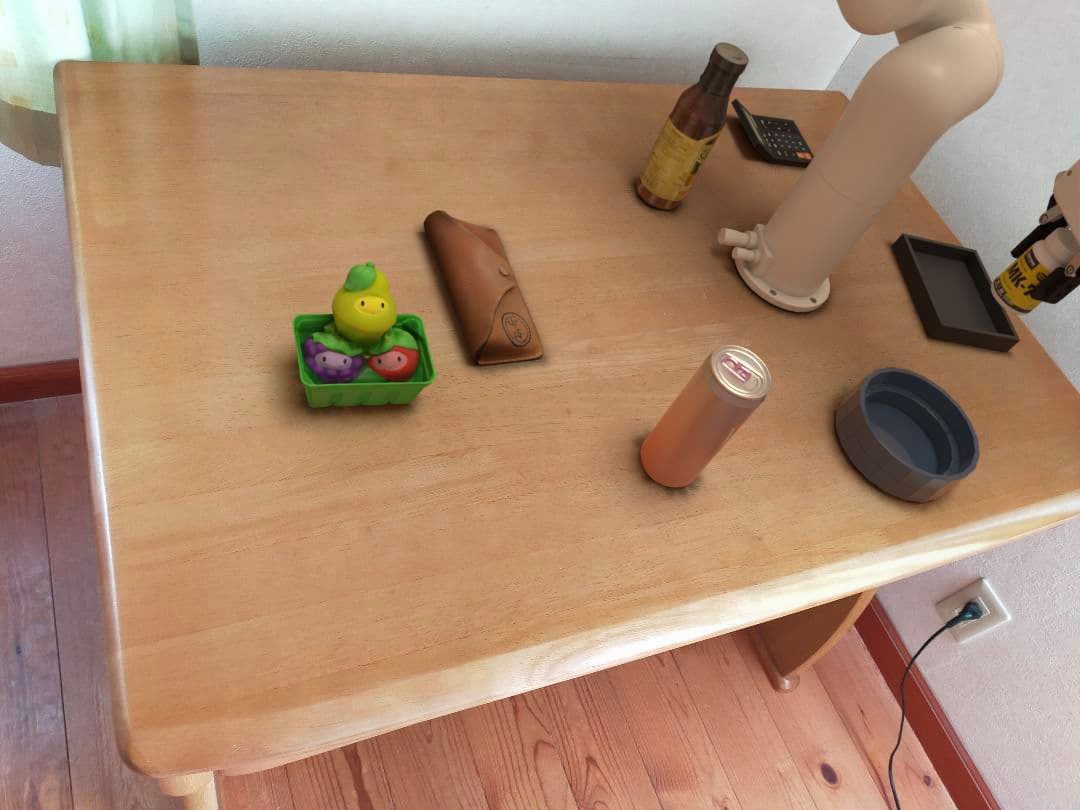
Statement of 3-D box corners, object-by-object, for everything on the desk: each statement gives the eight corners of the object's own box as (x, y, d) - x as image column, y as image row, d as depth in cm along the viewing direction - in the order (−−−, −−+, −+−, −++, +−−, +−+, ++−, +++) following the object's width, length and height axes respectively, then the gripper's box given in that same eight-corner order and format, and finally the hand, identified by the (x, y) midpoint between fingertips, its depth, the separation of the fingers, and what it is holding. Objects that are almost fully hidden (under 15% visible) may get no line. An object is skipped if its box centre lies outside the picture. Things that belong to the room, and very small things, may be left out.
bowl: (853, 496, 90) (882, 471, 86) (819, 385, 98) (845, 358, 94) (965, 510, 94) (998, 487, 90) (924, 402, 102) (952, 377, 98)
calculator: (814, 168, 125) (826, 151, 122) (746, 160, 120) (756, 143, 118) (790, 125, 130) (801, 108, 127) (723, 115, 125) (733, 98, 123)
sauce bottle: (677, 219, 108) (758, 82, 92) (630, 200, 107) (704, 58, 92) (682, 187, 112) (760, 51, 97) (637, 169, 111) (708, 28, 96)
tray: (1006, 352, 113) (1020, 340, 112) (928, 337, 110) (941, 325, 108) (964, 262, 123) (976, 249, 121) (891, 246, 119) (902, 232, 117)
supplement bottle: (980, 283, 90) (1043, 225, 84) (1008, 278, 92) (1070, 221, 86) (1010, 320, 88) (1076, 262, 82) (1037, 313, 90) (1104, 257, 84)
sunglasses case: (551, 355, 87) (538, 321, 81) (486, 383, 87) (468, 350, 81) (493, 225, 96) (478, 185, 90) (434, 250, 96) (415, 212, 90)
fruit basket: (295, 421, 74) (310, 338, 66) (284, 339, 79) (296, 251, 70) (425, 415, 79) (455, 337, 70) (408, 338, 84) (434, 255, 75)
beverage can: (658, 427, 87) (730, 331, 76) (705, 467, 86) (785, 376, 75) (626, 459, 83) (696, 364, 72) (674, 502, 82) (753, 412, 71)
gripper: (1119, 62, 78) (975, 211, 92) (1207, 191, 68) (1030, 336, 82) (1182, 85, 80) (1032, 228, 94) (1277, 214, 70) (1093, 352, 84)
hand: (1033, 277), depth 88 cm, fingers closed on supplement bottle, 4 cm apart
